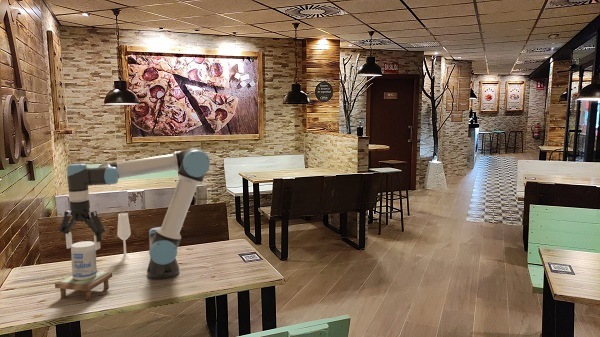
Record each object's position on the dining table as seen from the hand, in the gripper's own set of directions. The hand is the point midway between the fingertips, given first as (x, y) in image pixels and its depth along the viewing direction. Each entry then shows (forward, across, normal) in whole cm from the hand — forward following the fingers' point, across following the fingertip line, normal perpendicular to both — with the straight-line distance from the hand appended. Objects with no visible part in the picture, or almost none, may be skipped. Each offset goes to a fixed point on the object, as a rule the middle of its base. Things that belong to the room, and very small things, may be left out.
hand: (83, 248), depth 188 cm
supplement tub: (+13, 0, 0) cm, 13 cm away
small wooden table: (+20, +1, 0) cm, 20 cm away
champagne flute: (+21, +11, -46) cm, 51 cm away
